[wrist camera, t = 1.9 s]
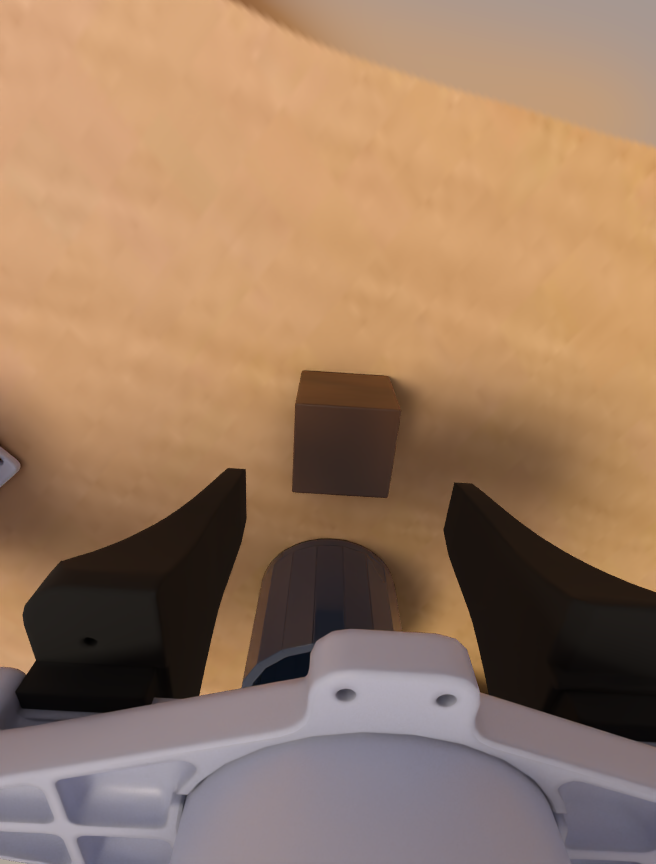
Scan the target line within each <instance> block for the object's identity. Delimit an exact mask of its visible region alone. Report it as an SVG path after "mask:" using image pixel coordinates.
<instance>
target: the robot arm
mask: <svg viewBox="0 0 656 864" xmlns="http://www.w3.org/2000/svg"><path fill="white" fill-rule="evenodd" d="M0 458H1V459H2V460H3V461H1V460H0V487H1V486H2V485H4V484H5V483H6V482H7V481H8V480H9V479H10V478H11V477H13V476H14V475H15V474H16V473H17V472H18V471H19V470H20V466H21V465H20V463H19V461H18V460H17V459H15V458H14V457H13V456H12V455H10V454H9V453H8V452H7V451H5V450H4V449H3V448H2V447H0ZM246 518H247V516H246V469H234V468H227V469H226V470H225V471H224V472H223V473H222V474H220V475H219V476H218V477H217V478H216V479H215V480H214V481H213V482H212V483H210V484H209V485H208V486H207V487H206V488H205V489H204V490H202V491H201V492H200V493H199V494H198V495H196V496H195V497H194V498H193V499H192V500H190V501H189V502H188V503H186V504H185V505H184V506H182V507H181V508H180V509H178V510H177V511H175V512H174V513H172V514H171V515H169V516H168V517H166V518H165V519H163V520H161V521H160V522H158V523H156V524H154V525H153V526H151V527H149V528H147V529H145V530H143V531H141V532H139V533H137V534H135V535H133V536H131V537H129V538H127V539H124V540H122V541H120V542H117V543H115V544H112V545H110V546H107V547H104V548H102V549H99V550H96V551H93V552H90V553H87V554H84V555H80V556H77V557H74V558H71V559H67V560H64V561H61V562H60V563H59V564H58V565H57V566H56V567H55V568H54V569H53V570H52V572H51V573H50V574H49V575H48V576H47V578H46V579H45V580H44V582H43V583H42V584H41V585H40V587H39V588H38V589H37V591H36V592H35V593H34V594H33V596H32V597H31V598H30V599H29V601H28V602H27V603H26V605H25V607H24V611H23V621H24V626H25V629H26V632H27V635H28V638H29V641H30V644H31V647H32V650H33V653H34V656H35V659H36V662H35V663H34V665H33V666H32V667H31V669H30V670H29V672H28V673H27V675H26V674H25V673H24V672H22V671H20V670H19V669H15V668H11V667H0V859H4V860H9V861H15V862H21V863H27V864H656V592H653V591H651V590H648V589H645V588H642V587H639V586H637V585H634V584H631V583H629V582H626V581H624V580H622V579H619V578H617V577H615V576H612V575H610V574H608V573H605V572H603V571H601V570H599V569H597V568H595V567H593V566H591V565H589V564H587V563H585V562H583V561H581V560H579V559H577V558H575V557H573V556H571V555H570V554H568V553H566V552H564V551H563V550H561V549H559V548H558V547H556V546H554V545H553V544H551V543H550V542H548V541H546V540H545V539H543V538H542V537H540V536H539V535H537V534H536V533H534V532H533V531H532V530H530V529H529V528H527V527H526V526H525V525H523V524H522V523H521V522H519V521H518V520H517V519H515V518H514V517H513V516H512V515H510V514H509V513H508V512H507V511H505V510H504V509H503V508H502V507H500V506H499V505H498V504H497V503H496V502H494V501H493V500H492V499H491V498H490V497H488V496H487V495H486V494H485V493H484V492H482V491H481V490H480V489H479V488H477V487H476V486H475V485H473V484H470V483H454V486H453V491H452V495H451V500H450V504H449V508H448V513H447V517H446V521H445V526H444V535H445V540H446V545H447V550H448V554H449V558H450V561H451V563H452V566H453V569H454V572H455V575H456V577H457V580H458V583H459V585H460V588H461V591H462V594H463V596H464V599H465V602H466V604H467V607H468V610H469V613H470V616H471V619H472V622H473V626H474V630H475V634H476V638H477V642H478V646H479V651H480V655H481V660H482V664H483V669H484V673H485V678H486V683H487V688H488V693H489V695H487V694H484V693H481V692H480V690H479V687H478V684H477V681H476V677H475V674H474V671H473V668H472V664H471V661H470V658H469V655H468V651H467V649H466V648H465V647H464V646H463V645H462V644H461V643H460V642H458V641H457V640H456V639H455V638H451V637H447V636H444V635H440V634H436V633H418V632H401V631H383V630H366V629H345V630H337V631H332V632H330V633H329V634H327V635H325V636H324V637H322V638H320V639H319V640H317V641H316V643H315V645H314V647H313V649H312V651H311V653H310V666H309V671H308V674H307V676H305V677H302V678H296V679H290V680H285V681H279V682H274V683H268V684H263V685H257V686H251V687H246V688H240V689H235V690H229V691H224V692H218V693H212V694H207V695H201V696H199V694H200V689H201V684H202V679H203V675H204V670H205V665H206V661H207V656H208V652H209V647H210V643H211V638H212V634H213V630H214V626H215V622H216V617H217V613H218V609H219V606H220V602H221V599H222V596H223V593H224V590H225V588H226V585H227V582H228V579H229V576H230V574H231V571H232V568H233V565H234V562H235V560H236V557H237V554H238V551H239V548H240V545H241V542H242V537H243V533H244V528H245V523H246Z"/></svg>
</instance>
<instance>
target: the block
mask: <svg viewBox="0 0 656 864" xmlns="http://www.w3.org/2000/svg"><path fill="white" fill-rule="evenodd" d="M400 416H401V409H400V406H399V403H398V401H397V398H396V395H395V392H394V390H393V387H392V384H391V381H390V378H389V377H388V376H376V375H361V374H346V373H331V372H316V371H302V373H301V378H300V383H299V388H298V393H297V398H296V403H295V425H294V453H293V480H292V491H293V492H297V493H314V494H330V495H346V496H363V497H379V498H388V495H389V488H390V482H391V475H392V469H393V462H394V455H395V449H396V442H397V436H398V429H399V423H400Z"/></svg>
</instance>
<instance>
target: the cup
mask: <svg viewBox="0 0 656 864" xmlns="http://www.w3.org/2000/svg"><path fill="white" fill-rule="evenodd" d="M345 629H366V630H383V631H401V632H402V626H401V621H400V615H399V609H398V603H397V597H396V591H395V585H394V582H393V578H392V575H391V573H390V571H389V569H388V568H387V566H386V565H385V563H384V562H383V561H382V560H381V559H380V558H379V557H378V556H377V555H376V554H374V553H373V552H371V551H370V550H368V549H366V548H364V547H362V546H360V545H357V544H355V543H352V542H348V541H343V540H337V539H317V540H311V541H307V542H303V543H300V544H297V545H295V546H292V547H290V548H288V549H287V550H285V551H283V552H282V553H281V554H279V555H278V556H277V557H276V558H275V559H274V560H273V561H272V562H271V563H270V565H269V566H268V568H267V569H266V571H265V573H264V576H263V580H262V584H261V589H260V595H259V600H258V605H257V610H256V615H255V620H254V625H253V631H252V636H251V641H250V646H249V651H248V656H247V661H246V667H245V672H244V677H243V682H242V687H241V688H246V687H251V686H257V685H263V684H268V683H274V682H279V681H285V680H290V679H296V678H302V677H305V676H307V674H308V671H309V666H310V653H311V651H312V649H313V647H314V645H315V643H316V641H317V640H319V639H320V638H322V637H324V636H325V635H327V634H329V633H330V632H332V631H337V630H345Z"/></svg>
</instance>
